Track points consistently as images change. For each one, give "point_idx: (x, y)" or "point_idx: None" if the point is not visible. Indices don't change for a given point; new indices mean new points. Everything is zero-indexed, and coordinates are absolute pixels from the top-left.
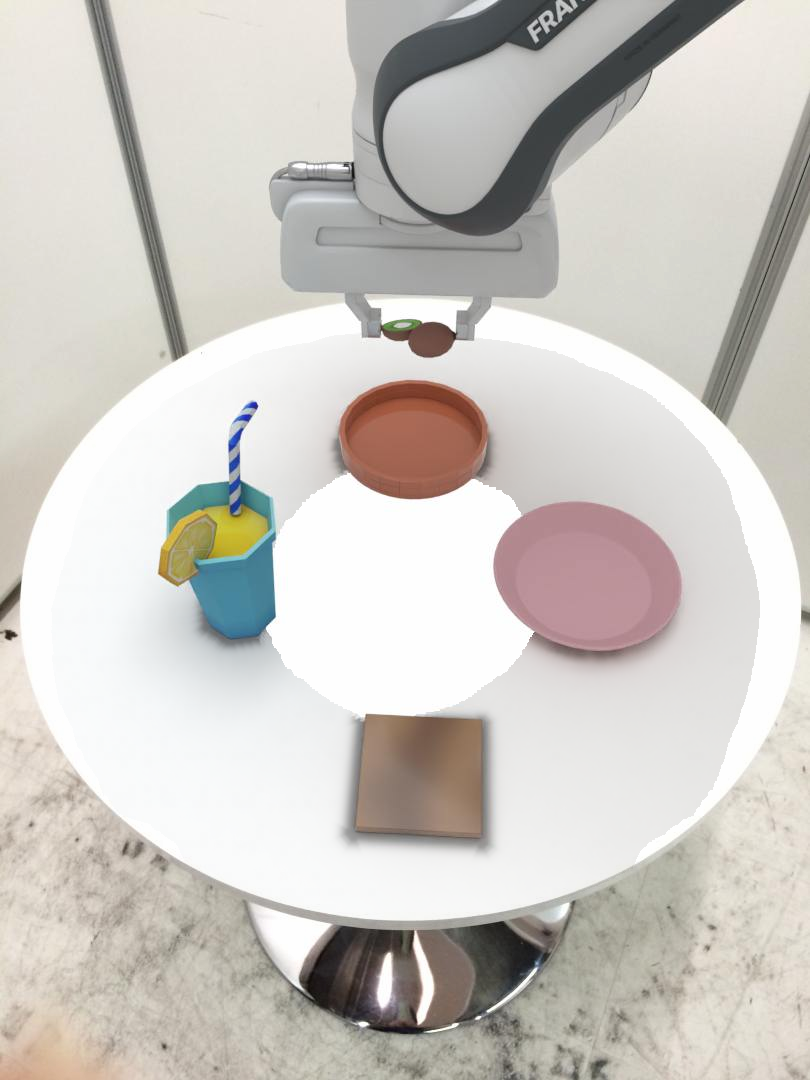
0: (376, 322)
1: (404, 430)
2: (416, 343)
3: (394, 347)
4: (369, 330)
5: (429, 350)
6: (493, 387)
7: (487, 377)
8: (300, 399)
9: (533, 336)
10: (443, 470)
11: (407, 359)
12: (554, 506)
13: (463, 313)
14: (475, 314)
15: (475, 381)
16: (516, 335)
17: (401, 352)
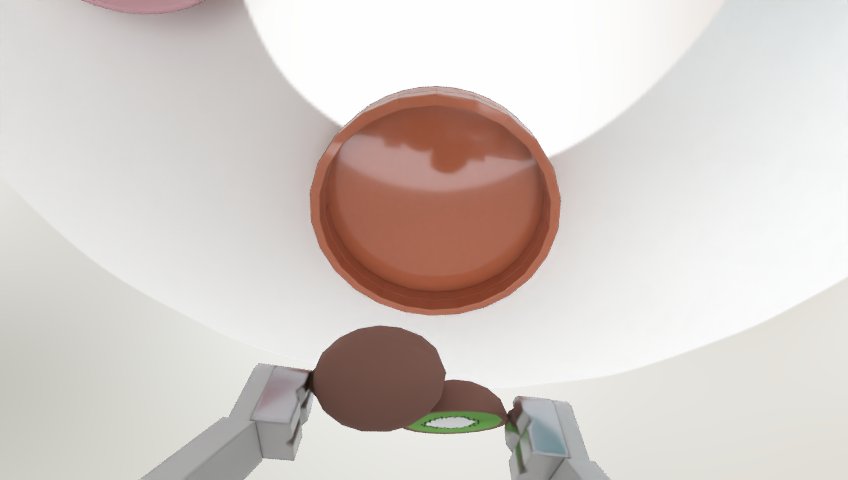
0: (541, 451)
1: (444, 234)
2: (423, 371)
3: None
4: (556, 423)
5: (385, 345)
6: (313, 297)
7: (321, 313)
8: (581, 304)
9: None
10: (390, 145)
11: None
12: (171, 2)
13: (272, 450)
14: (204, 458)
15: (337, 309)
16: None
17: None
